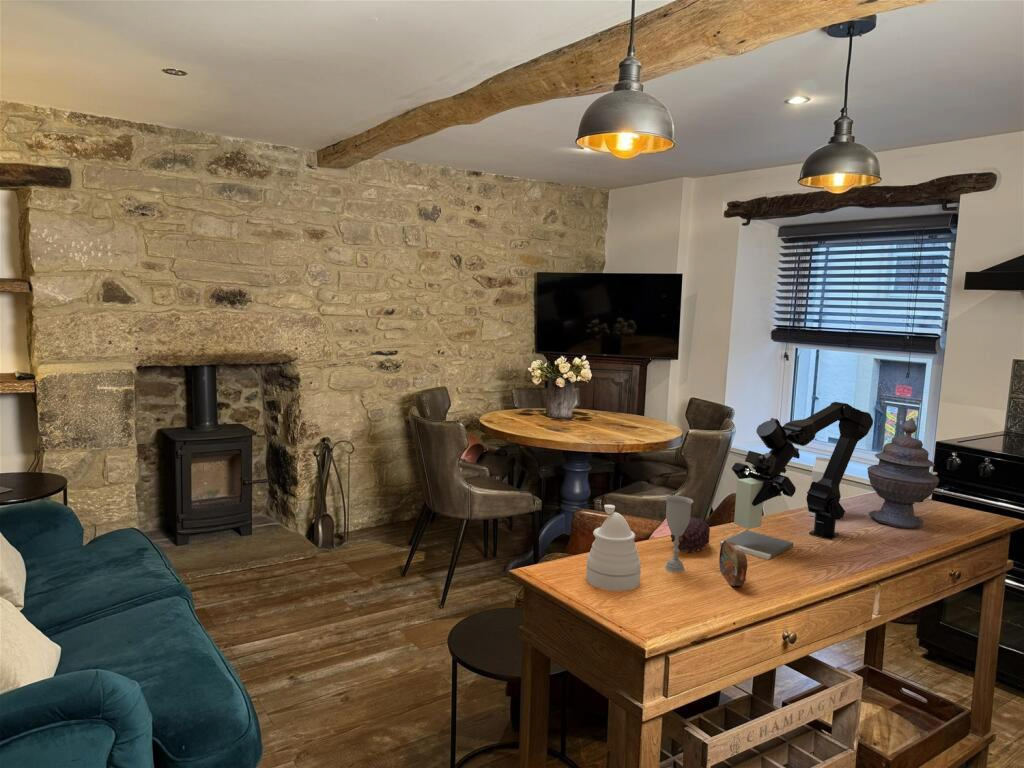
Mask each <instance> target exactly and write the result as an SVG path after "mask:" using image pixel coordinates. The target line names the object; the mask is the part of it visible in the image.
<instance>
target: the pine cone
mask: <svg viewBox="0 0 1024 768" xmlns="http://www.w3.org/2000/svg"><path fill="white" fill-rule="evenodd" d="M710 533H711V529H710V526H709V525H708V523H706V522H705V521H704V520H702V519H700V518H699V517H698V518H697V517H695V516H690V521H689V524H688V526H687V528H686V530H685V532H684V533H683V535H681V536H679V538H678V540H679V543H680V544H679V545H678V549H679V551H683V552H687V553H692V552H693V553H698V551H702V550H703V548H705V547H706V546H707V544H709V543H710ZM670 539H671V542H672V543H673V542H674V540H675V535H673V534H671V533H670Z"/></svg>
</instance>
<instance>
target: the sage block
mask: <svg viewBox="0 0 1024 768" xmlns="http://www.w3.org/2000/svg"><path fill="white" fill-rule="evenodd" d="M762 487H763V482H762V481H759V480H756V479H753V478H745V479H739V478H737V479H736V489H735V490H736V491H735V503H734V505H735V506H734V518H733V524H734V525H737V526H739V527H741V528H744V529H747V530H749V529H754V528H755V529H756V528H761V527H762V520H763V519H762V518H763V507H764V506H763V505H764V502H762V503H760V504H758V505H756V506H753V505H752V502H753V500H754V499H755V497H756V496H757V494H758V493H759V491H760V490H761V488H762Z"/></svg>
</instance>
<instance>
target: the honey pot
mask: <svg viewBox="0 0 1024 768" xmlns="http://www.w3.org/2000/svg"><path fill="white" fill-rule="evenodd" d="M603 507H604V511H605V513H606V514H608V516H607V517H606V519H605V520H604V521H603V523H602V525H601V526H599V527H596V528H595V529H594V530H593V532H592V534H593V536H594V537H595V538H594V541H593V542H592V544H591V548H590V551H589V554H588V555H587V558H586V560H587V561H586V574H585V579H586V581H587V582H588V584H590V585H591V586H593V587H594V588H597V589H600V590H604V591H609V592H610V591H611V592H612V591H613V592H626V591H631V590H634V589H637V588H638V587H639V586H640V584H641V572H642V571H641V568H642V567H641V564H642V561H641V558H640V557H639V552H638V547H637V545H636V543H635V538H636V533H635V532H634V531H632V529H631V528H630V526H629V523H628V522H627V520H626V519H625V517H624V516H623V515H622V514H621V513H619V512H617V511H615V509H616V506H615V505H614V504H604V506H603Z"/></svg>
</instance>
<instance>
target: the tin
mask: <svg viewBox="0 0 1024 768" xmlns="http://www.w3.org/2000/svg"><path fill="white" fill-rule="evenodd" d="M723 541H724V540H723ZM718 555H719V558H718V561H719V562H718V563H719V570H720V573H721V574H722V576H723V577H724V579H725V580H726V582H727V583H728V584H729V586H733V587H735V586H736V587H742V586H744V585H745V583H746V578H747V570H748V559H747V556H746V553H744V552H743V551H742V550H741V549H740V548H739V546H738V545H737V544H736V543H734V542H727V541H724V542H723V543H722V545H721V546H720V550H719V554H718Z"/></svg>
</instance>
